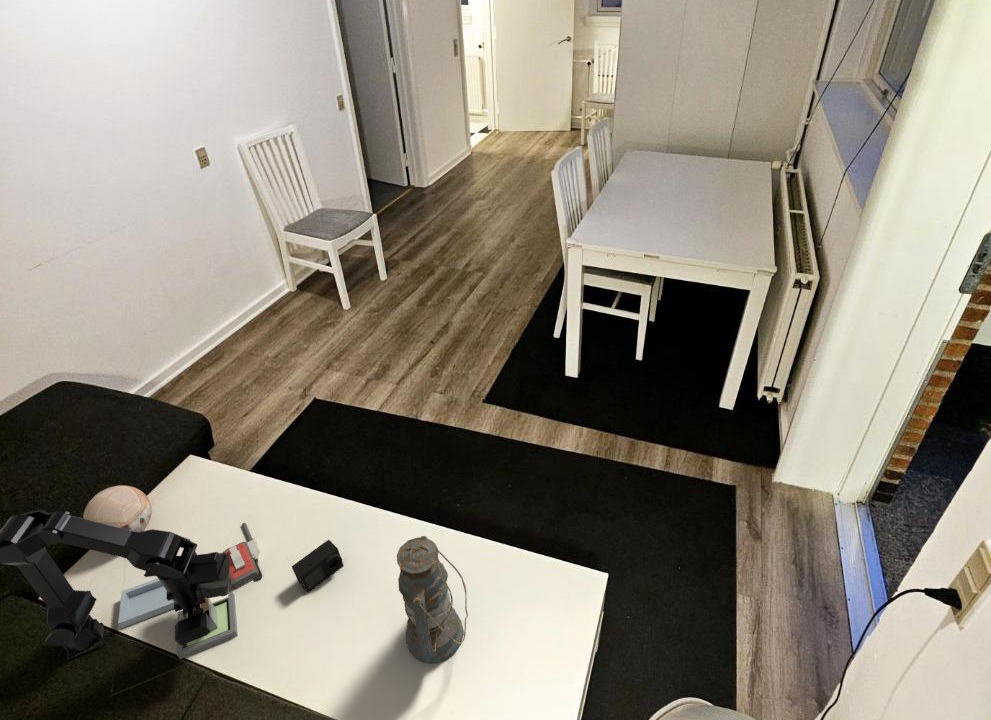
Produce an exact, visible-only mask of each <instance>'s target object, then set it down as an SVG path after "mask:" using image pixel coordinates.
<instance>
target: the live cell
mask: <svg viewBox="0 0 991 720" xmlns="http://www.w3.org/2000/svg"><path fill="white" fill-rule="evenodd" d="M201 608H203V609H204V611H207V610H209V615H210V620H209V621H210V631H212V630H214V629H217V628H218V619H217V610H216V608H215V607H214V605H213V603H212V602H211V600H210V599H209V598H206V602H205V603H203V604H201ZM195 610H196V609H195ZM187 616H188V614H187Z"/></svg>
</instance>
